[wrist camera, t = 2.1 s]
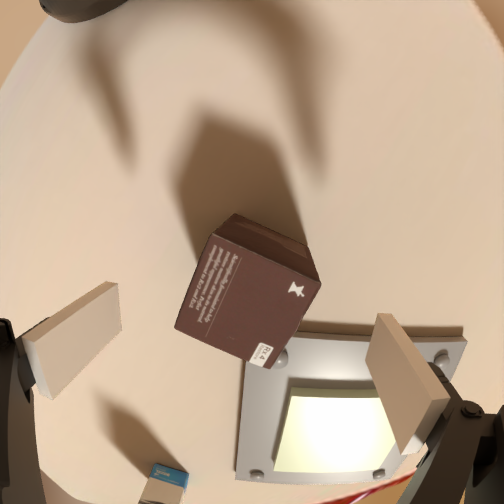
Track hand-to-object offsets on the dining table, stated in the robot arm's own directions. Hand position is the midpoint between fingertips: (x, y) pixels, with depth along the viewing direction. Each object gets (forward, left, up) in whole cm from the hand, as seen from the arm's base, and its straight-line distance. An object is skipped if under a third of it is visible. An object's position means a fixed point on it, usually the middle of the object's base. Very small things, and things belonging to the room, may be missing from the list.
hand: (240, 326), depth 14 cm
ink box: (+33, -9, -9) cm, 35 cm away
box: (0, 0, -9) cm, 9 cm away
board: (+16, +10, -8) cm, 20 cm away
